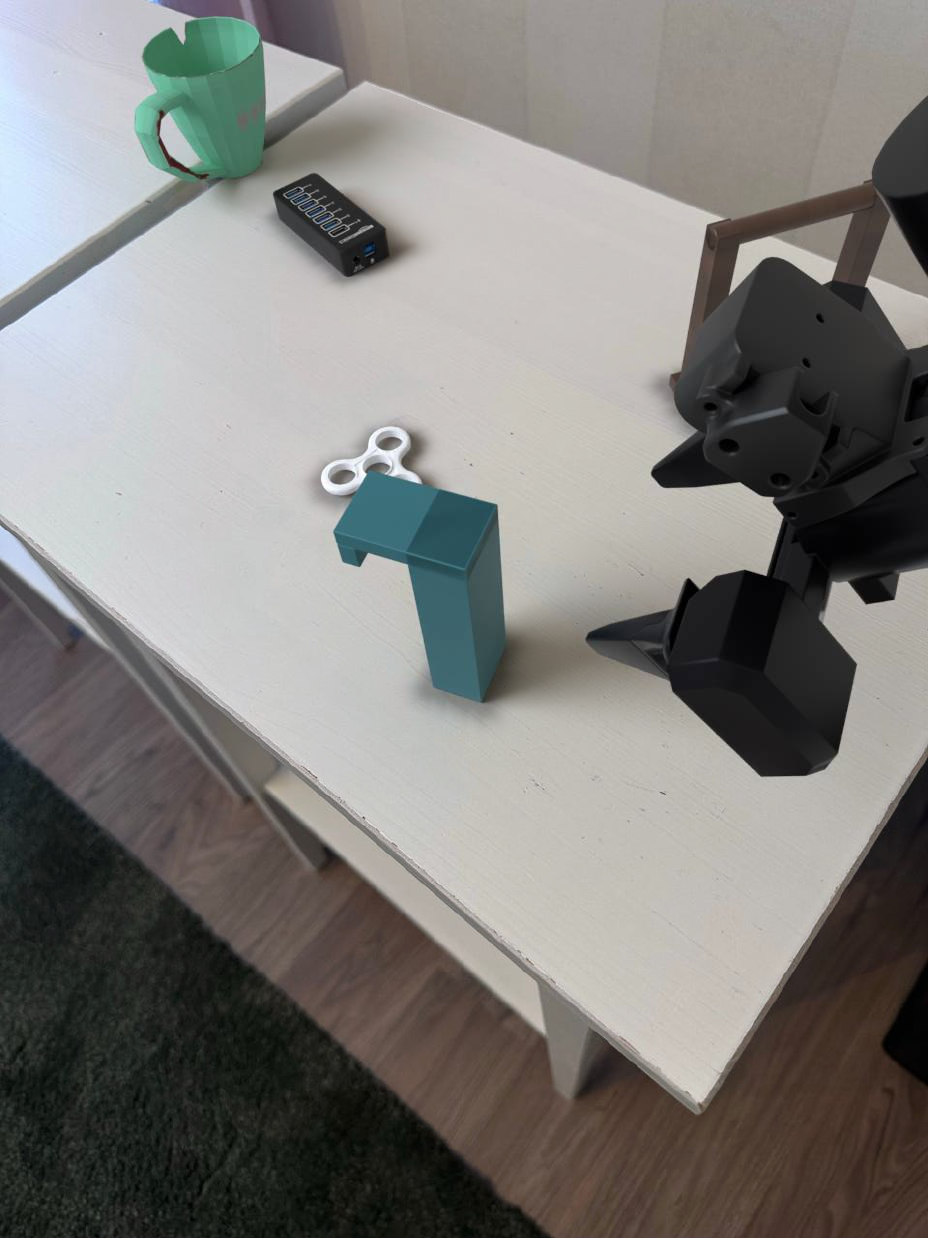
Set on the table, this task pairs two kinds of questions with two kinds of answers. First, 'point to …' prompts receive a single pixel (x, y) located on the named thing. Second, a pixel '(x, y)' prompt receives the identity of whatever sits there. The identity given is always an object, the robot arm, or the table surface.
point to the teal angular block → (437, 571)
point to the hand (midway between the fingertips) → (626, 556)
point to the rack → (731, 233)
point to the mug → (206, 97)
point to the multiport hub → (331, 224)
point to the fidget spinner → (371, 462)
